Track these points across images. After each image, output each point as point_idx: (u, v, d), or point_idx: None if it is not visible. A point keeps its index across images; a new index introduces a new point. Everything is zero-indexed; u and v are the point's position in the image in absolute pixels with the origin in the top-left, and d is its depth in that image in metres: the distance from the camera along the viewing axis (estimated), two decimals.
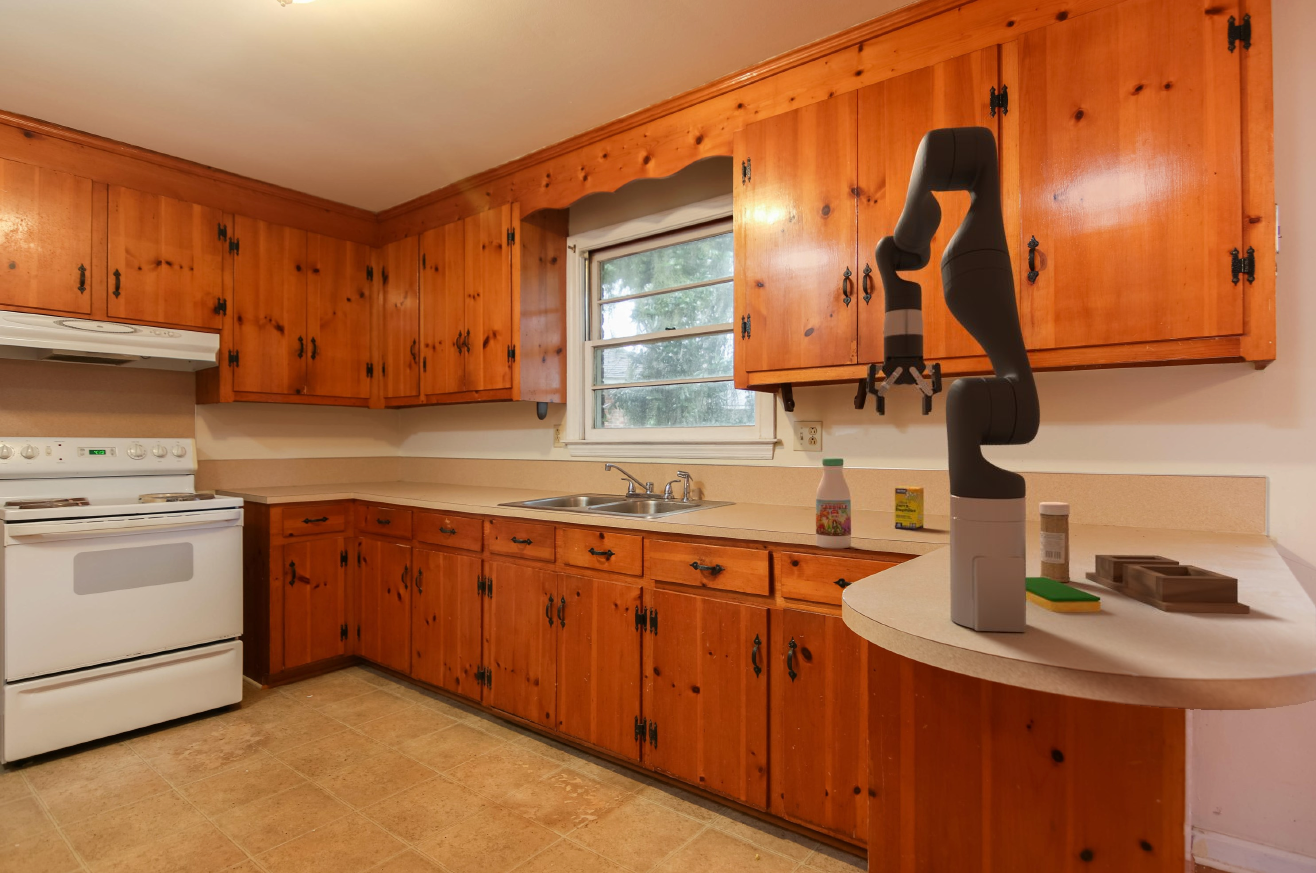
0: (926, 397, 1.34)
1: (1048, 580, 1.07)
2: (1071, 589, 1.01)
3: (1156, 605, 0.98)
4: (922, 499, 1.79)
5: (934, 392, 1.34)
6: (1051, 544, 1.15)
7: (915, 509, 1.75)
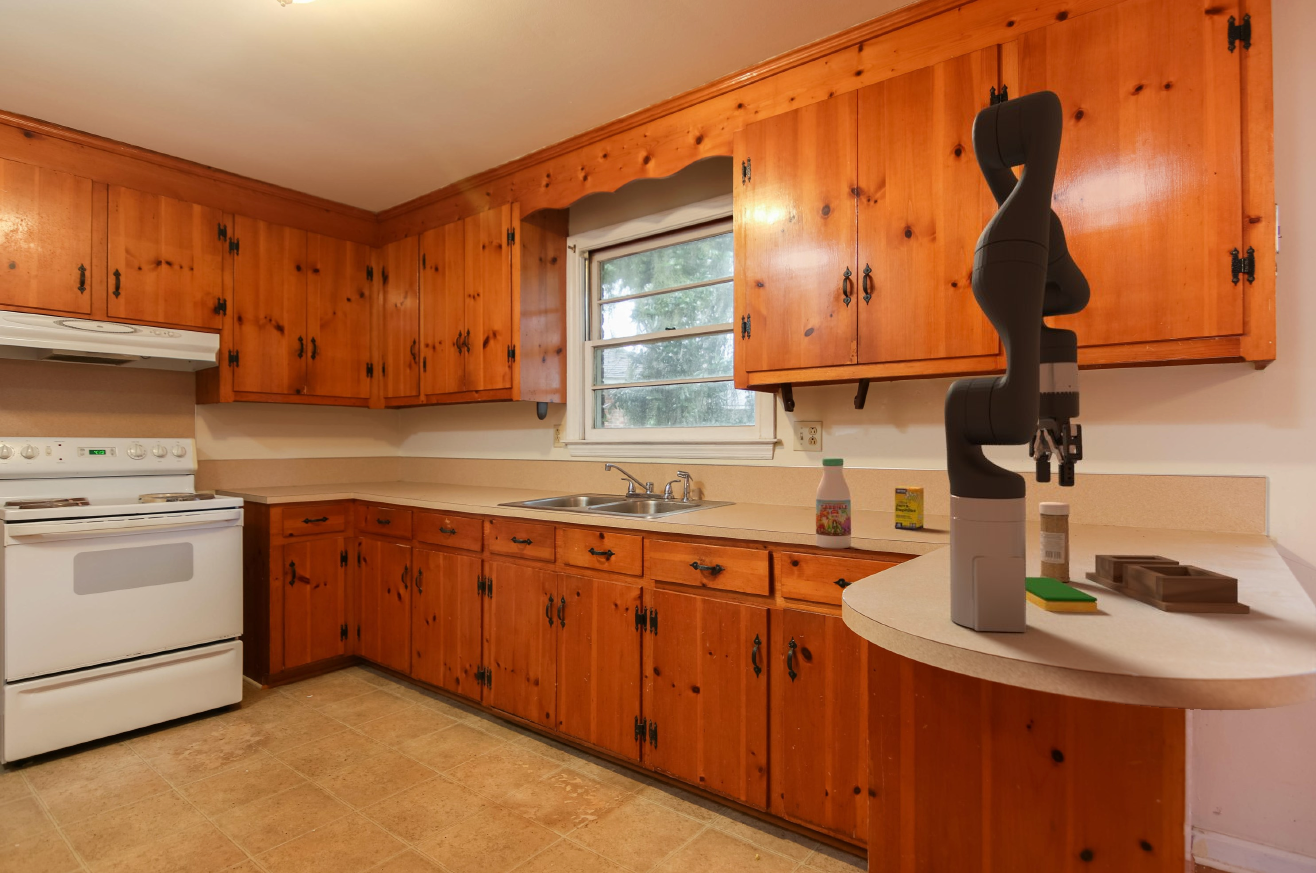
0: None
1: (1052, 580, 1.07)
2: (1070, 589, 1.01)
3: (1156, 605, 0.98)
4: (922, 499, 1.79)
5: None
6: (1051, 544, 1.15)
7: (915, 509, 1.75)
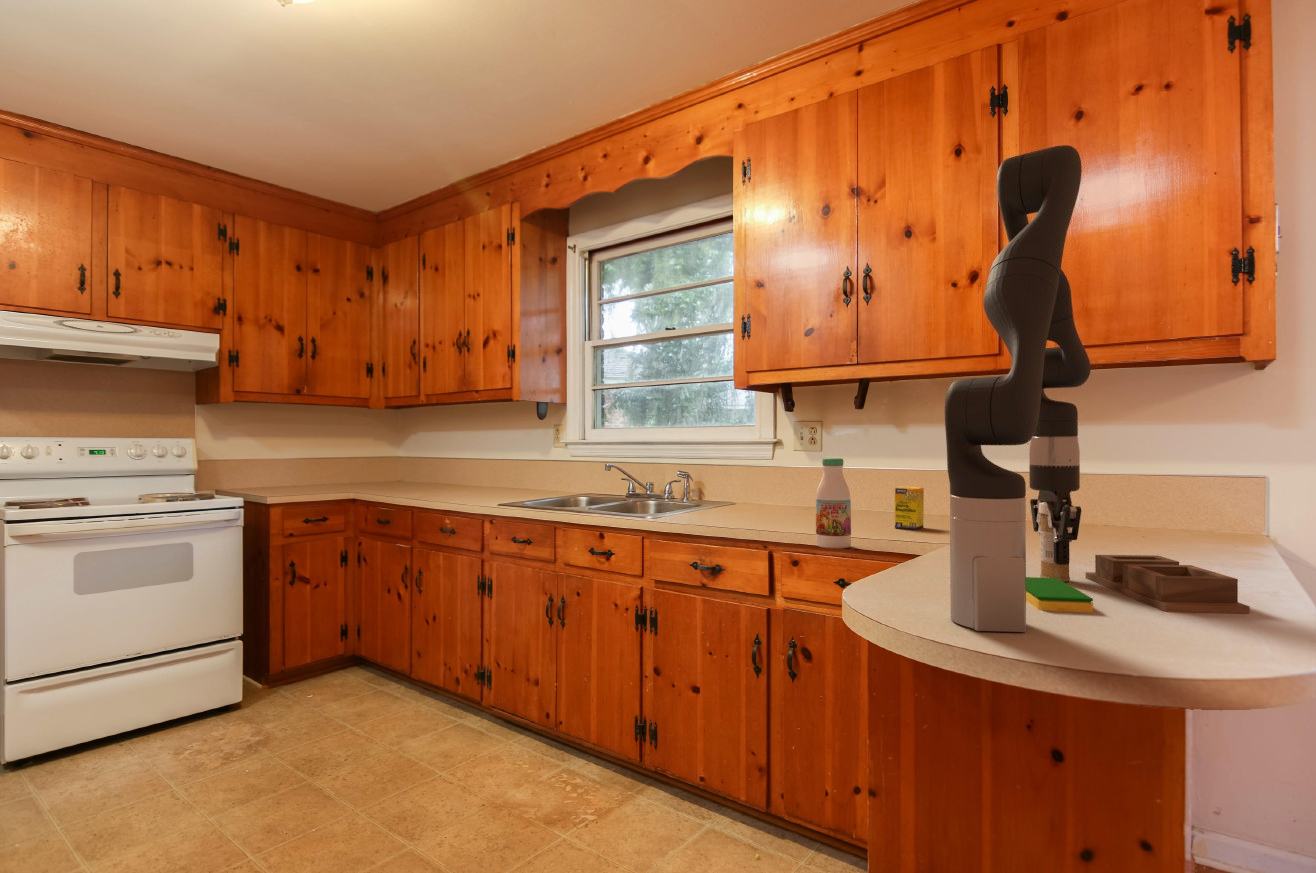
0: None
1: (1055, 581, 1.07)
2: (1069, 590, 1.01)
3: (1156, 605, 0.98)
4: (922, 499, 1.79)
5: None
6: (1051, 544, 1.15)
7: (915, 509, 1.75)
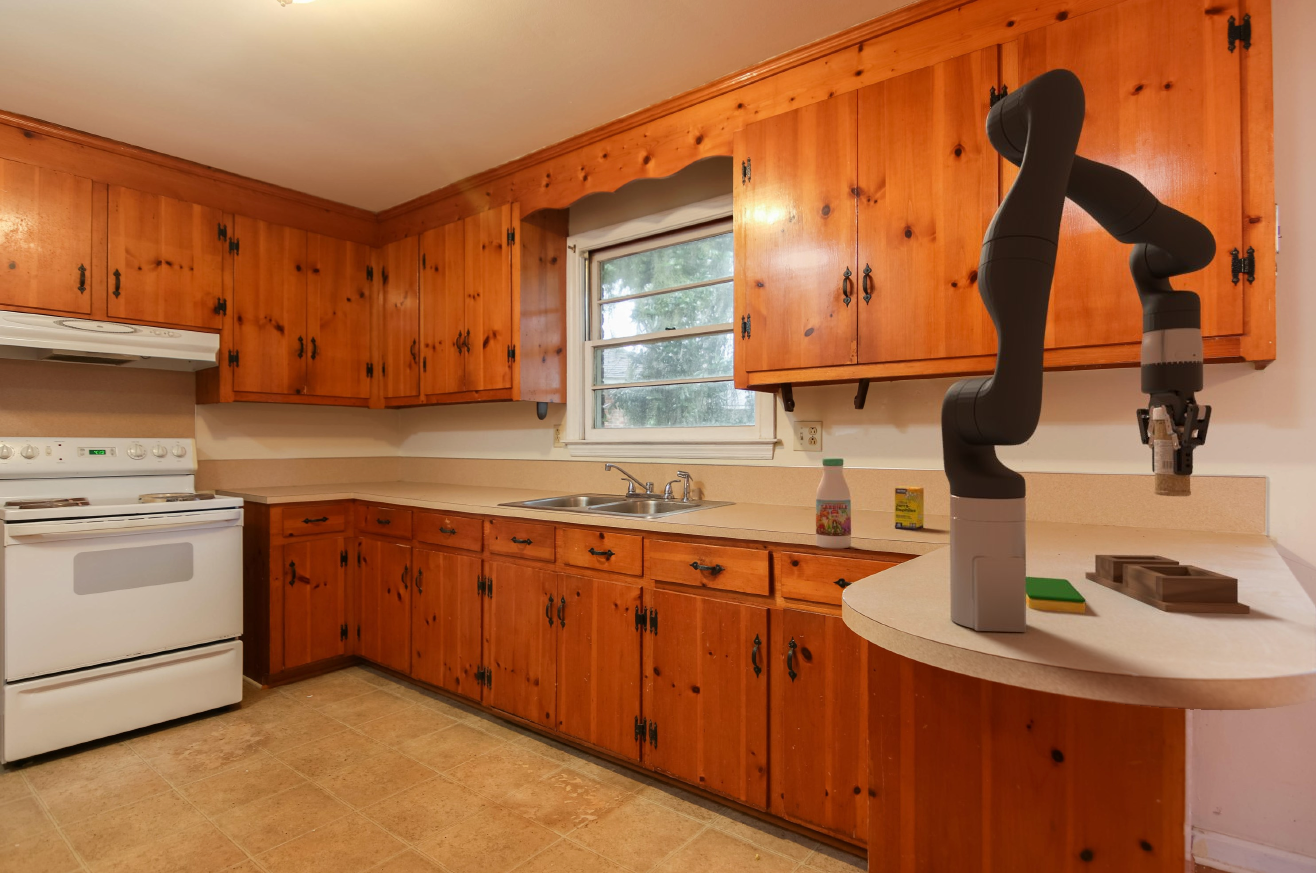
0: None
1: (1061, 582, 1.06)
2: (1067, 590, 1.01)
3: (1156, 605, 0.98)
4: (922, 499, 1.79)
5: None
6: (1171, 453, 1.00)
7: (915, 509, 1.75)
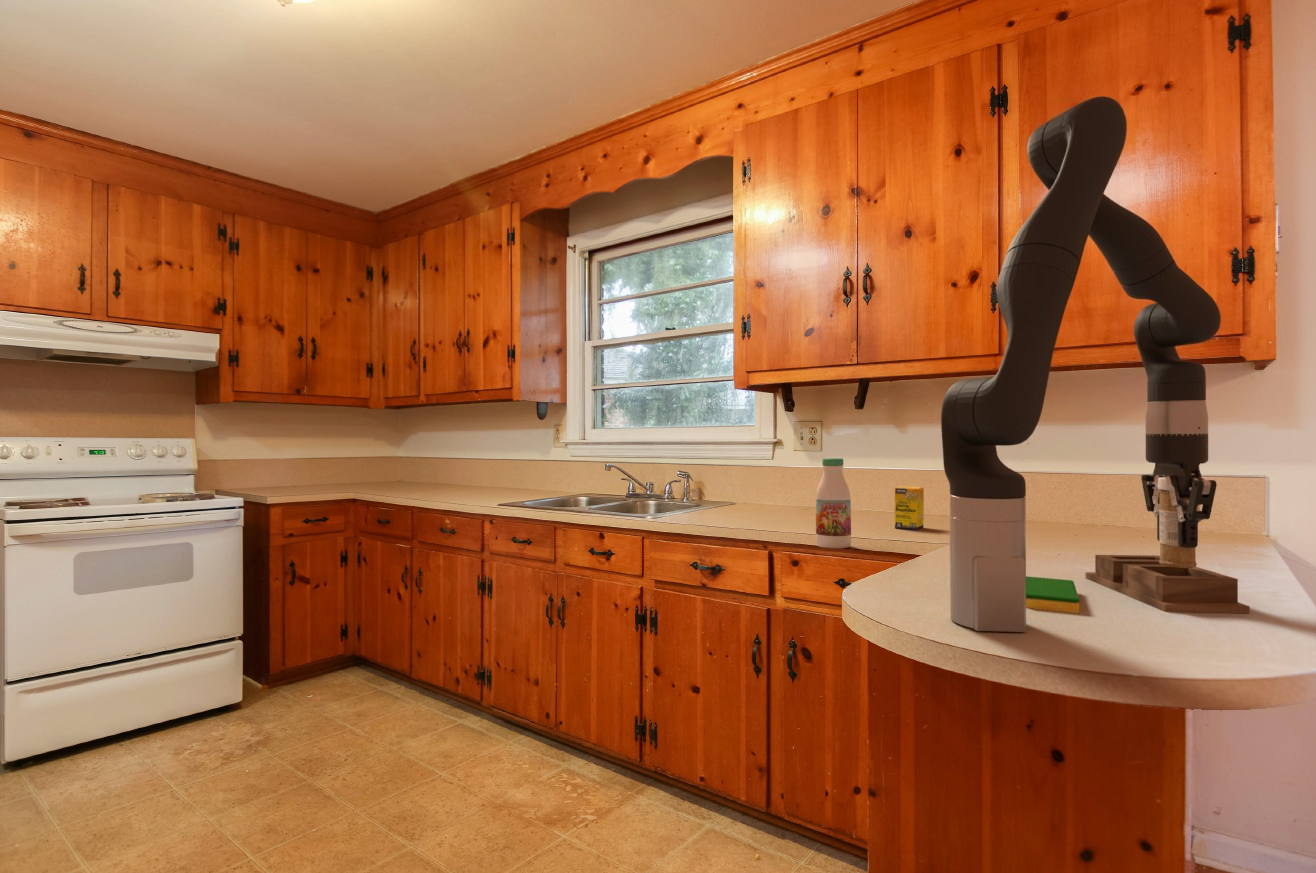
0: None
1: (1065, 582, 1.06)
2: (1066, 590, 1.00)
3: (1156, 605, 0.98)
4: (922, 499, 1.79)
5: None
6: (1176, 524, 1.00)
7: (915, 509, 1.75)
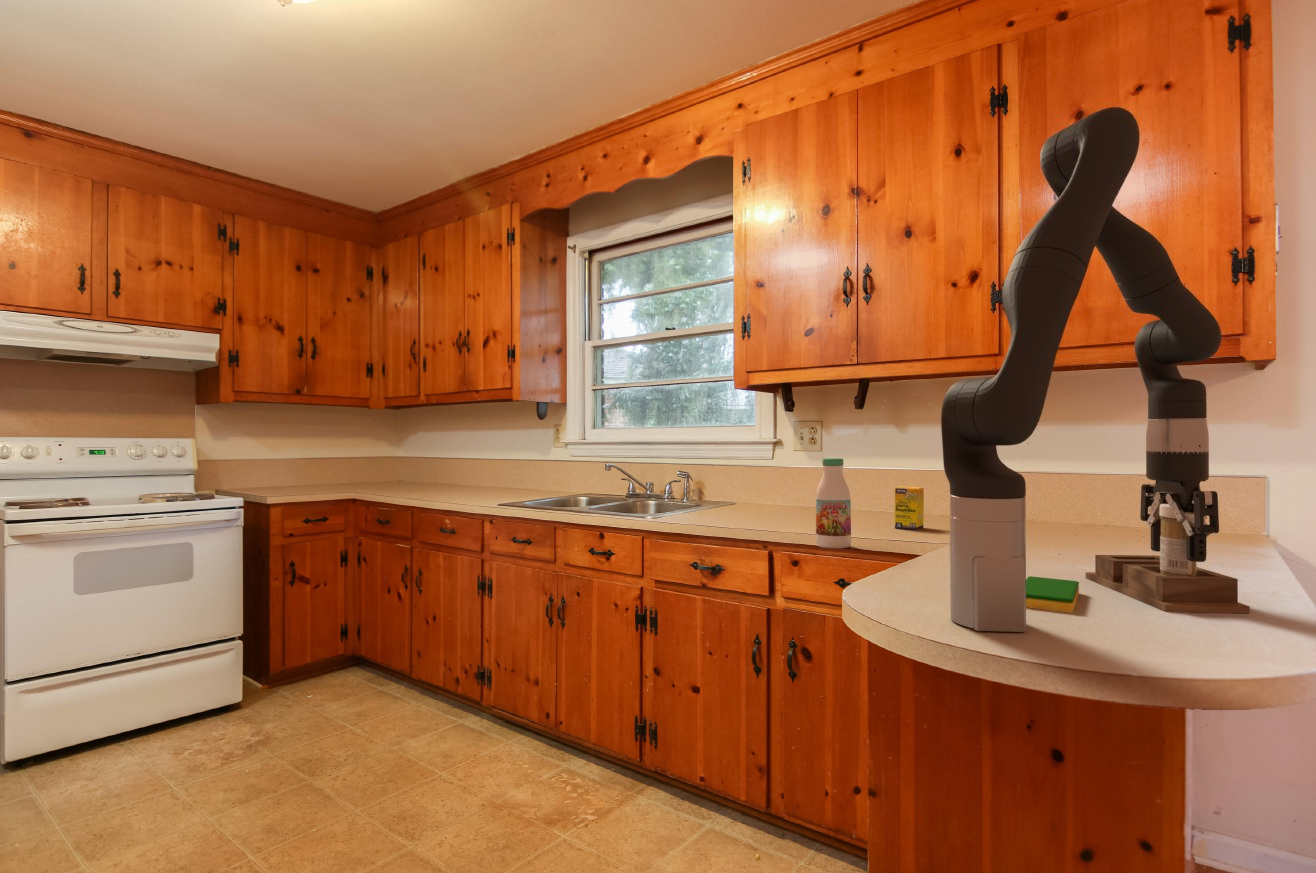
0: None
1: (1068, 583, 1.05)
2: (1064, 591, 1.00)
3: (1156, 605, 0.98)
4: (922, 499, 1.79)
5: None
6: (1176, 552, 1.00)
7: (915, 509, 1.75)
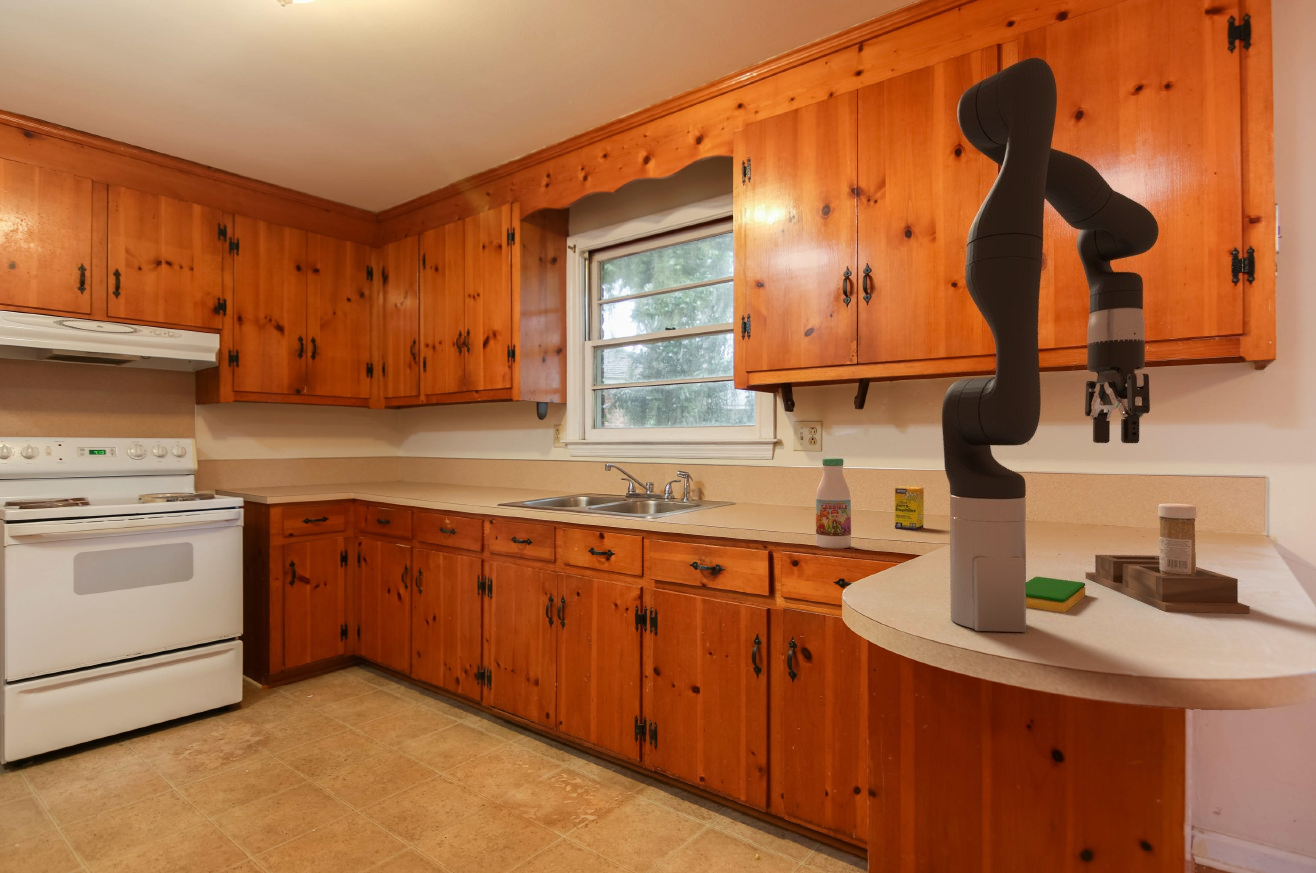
0: None
1: (1072, 584, 1.05)
2: (1061, 591, 1.00)
3: (1156, 605, 0.98)
4: (922, 499, 1.79)
5: None
6: (1176, 552, 1.00)
7: (915, 509, 1.75)
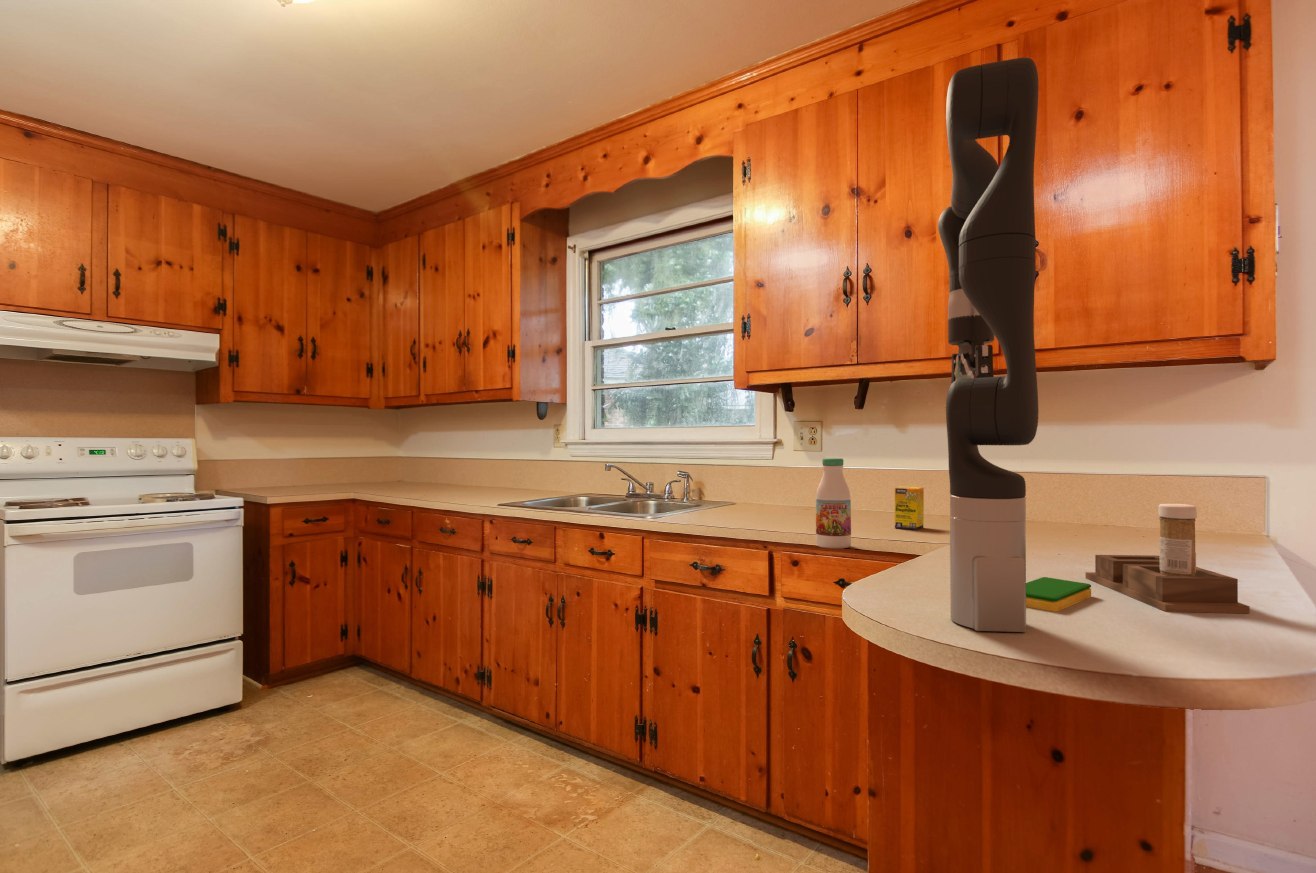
0: None
1: (1076, 585, 1.04)
2: (1058, 591, 1.00)
3: (1156, 605, 0.98)
4: (922, 499, 1.79)
5: None
6: (1176, 552, 1.00)
7: (915, 509, 1.75)
